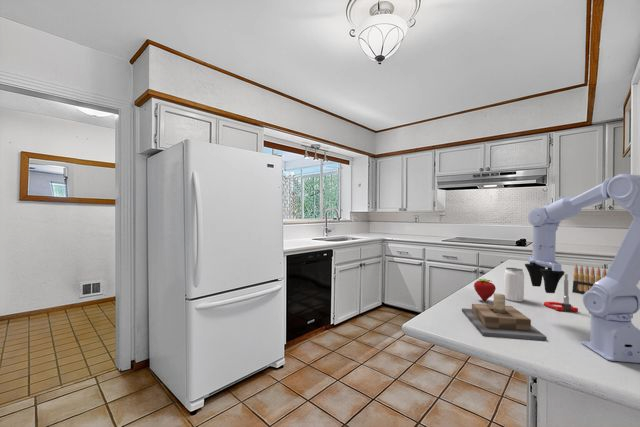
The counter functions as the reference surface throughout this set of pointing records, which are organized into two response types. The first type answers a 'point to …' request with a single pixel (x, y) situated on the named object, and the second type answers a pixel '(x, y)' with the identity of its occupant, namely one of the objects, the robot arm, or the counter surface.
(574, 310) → the tow hook
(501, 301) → the peg
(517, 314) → the holder
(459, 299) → the counter surface
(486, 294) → the strawberry
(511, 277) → the can
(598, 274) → the ammunition clip
